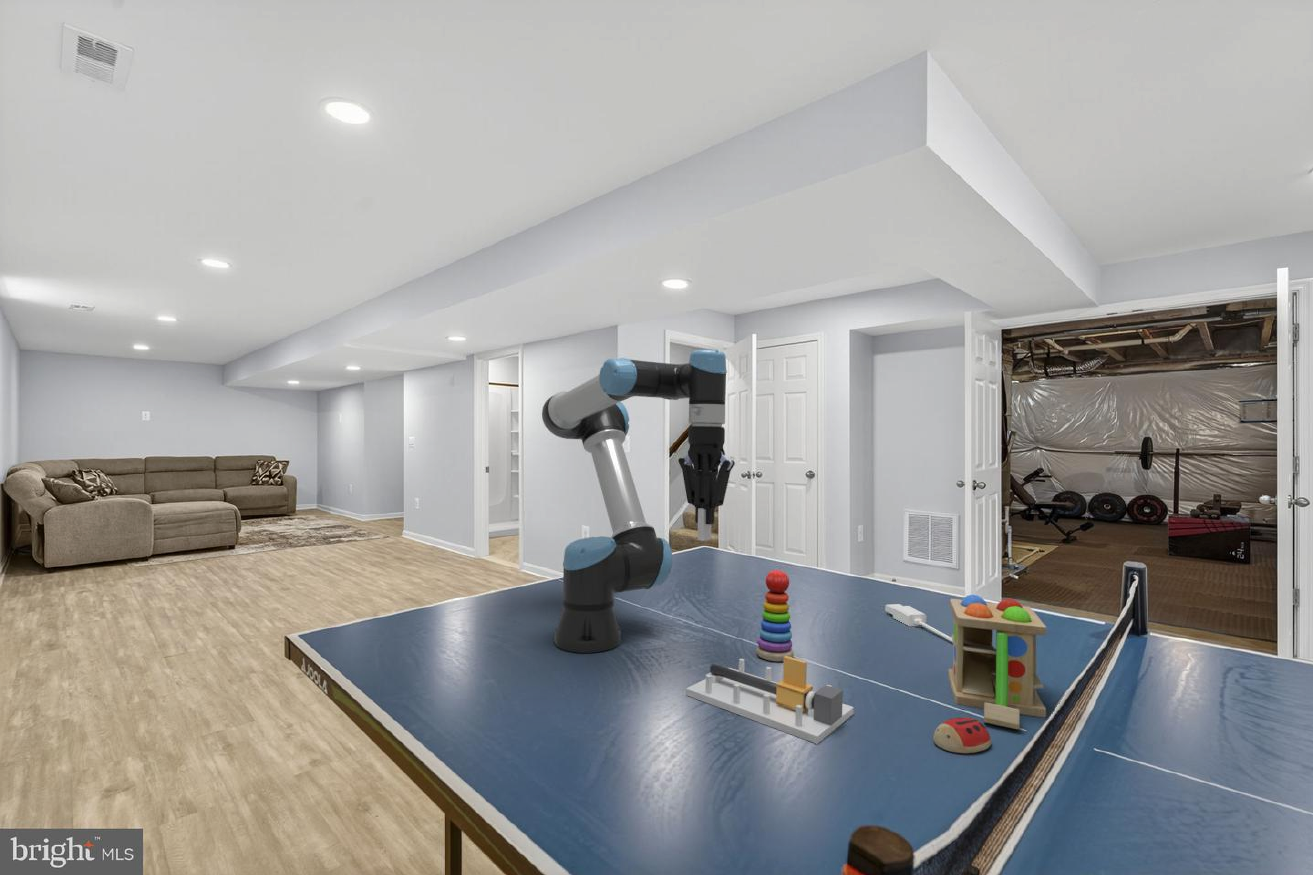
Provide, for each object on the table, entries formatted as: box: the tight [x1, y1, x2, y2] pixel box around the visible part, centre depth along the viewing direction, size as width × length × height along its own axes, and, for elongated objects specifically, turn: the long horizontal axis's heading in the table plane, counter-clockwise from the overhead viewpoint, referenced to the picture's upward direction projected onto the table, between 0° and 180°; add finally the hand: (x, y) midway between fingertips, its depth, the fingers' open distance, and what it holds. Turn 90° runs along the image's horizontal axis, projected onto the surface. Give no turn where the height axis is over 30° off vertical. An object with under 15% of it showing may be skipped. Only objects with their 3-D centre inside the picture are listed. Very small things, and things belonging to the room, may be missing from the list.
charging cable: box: [884, 603, 953, 643], centre depth 150 cm, size 5×32×3 cm, turn 12°
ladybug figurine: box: [932, 717, 992, 754], centre depth 96 cm, size 7×10×4 cm
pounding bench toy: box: [948, 594, 1047, 730], centre depth 110 cm, size 23×14×18 cm, turn 159°
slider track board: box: [685, 658, 855, 745], centre depth 108 cm, size 26×14×6 cm, turn 49°
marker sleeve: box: [776, 656, 814, 713], centre depth 105 cm, size 5×4×8 cm
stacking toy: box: [755, 569, 795, 662], centre depth 132 cm, size 8×8×19 cm
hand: (704, 539), depth 125 cm, fingers closed
